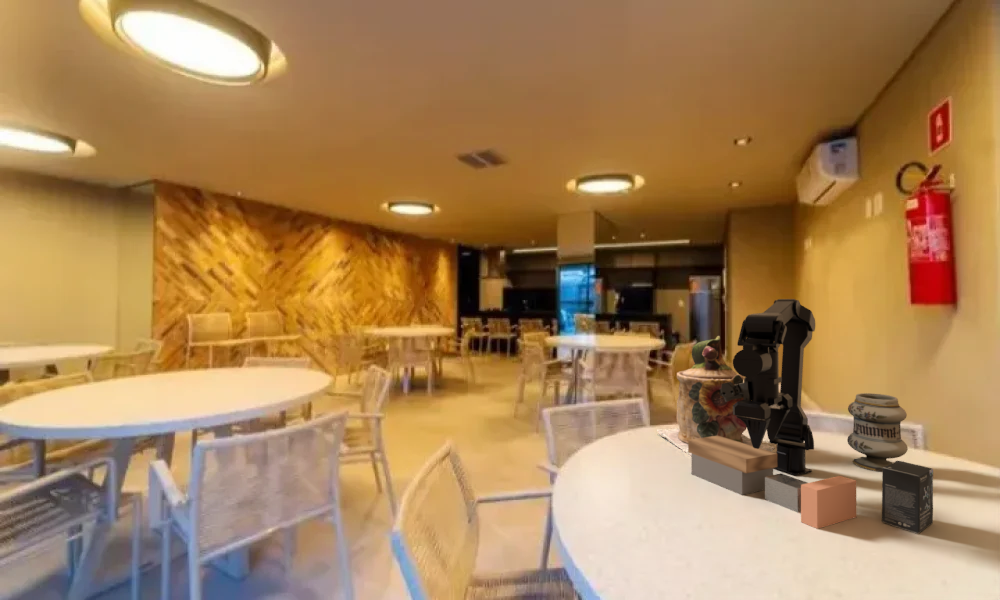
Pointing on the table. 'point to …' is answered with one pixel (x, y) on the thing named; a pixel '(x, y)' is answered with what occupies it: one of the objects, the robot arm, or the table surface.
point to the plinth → (729, 476)
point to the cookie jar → (706, 400)
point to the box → (907, 496)
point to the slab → (733, 454)
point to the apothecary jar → (876, 430)
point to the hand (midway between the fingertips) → (763, 443)
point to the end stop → (828, 501)
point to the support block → (784, 491)
